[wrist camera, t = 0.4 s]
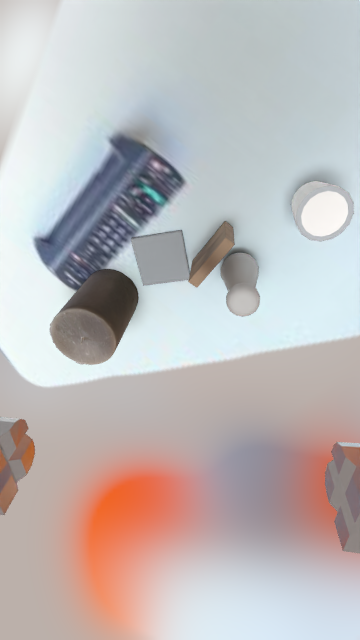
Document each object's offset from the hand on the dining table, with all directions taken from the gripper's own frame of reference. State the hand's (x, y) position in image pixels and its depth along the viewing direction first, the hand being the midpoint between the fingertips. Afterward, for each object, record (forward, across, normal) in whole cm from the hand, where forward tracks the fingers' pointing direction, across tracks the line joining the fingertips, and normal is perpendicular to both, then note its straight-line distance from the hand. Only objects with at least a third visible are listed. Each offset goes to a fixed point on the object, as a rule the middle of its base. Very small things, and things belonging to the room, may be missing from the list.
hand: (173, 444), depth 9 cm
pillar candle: (+46, +17, +18) cm, 52 cm away
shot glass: (+45, -14, +3) cm, 47 cm away
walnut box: (+45, 0, +9) cm, 46 cm away
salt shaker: (+45, -4, +12) cm, 47 cm away
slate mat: (+45, +8, +12) cm, 47 cm away
